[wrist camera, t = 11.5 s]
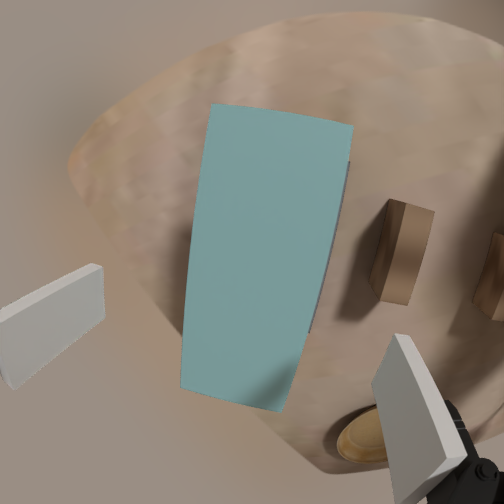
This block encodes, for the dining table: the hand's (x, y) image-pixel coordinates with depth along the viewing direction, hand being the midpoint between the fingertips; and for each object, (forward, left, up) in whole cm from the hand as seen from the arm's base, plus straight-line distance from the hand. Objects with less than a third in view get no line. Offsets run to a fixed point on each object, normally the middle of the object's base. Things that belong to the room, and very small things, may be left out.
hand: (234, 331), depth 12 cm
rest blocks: (-2, +20, -19) cm, 27 cm away
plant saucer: (+24, +22, -19) cm, 38 cm away
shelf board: (0, 0, -8) cm, 8 cm away
